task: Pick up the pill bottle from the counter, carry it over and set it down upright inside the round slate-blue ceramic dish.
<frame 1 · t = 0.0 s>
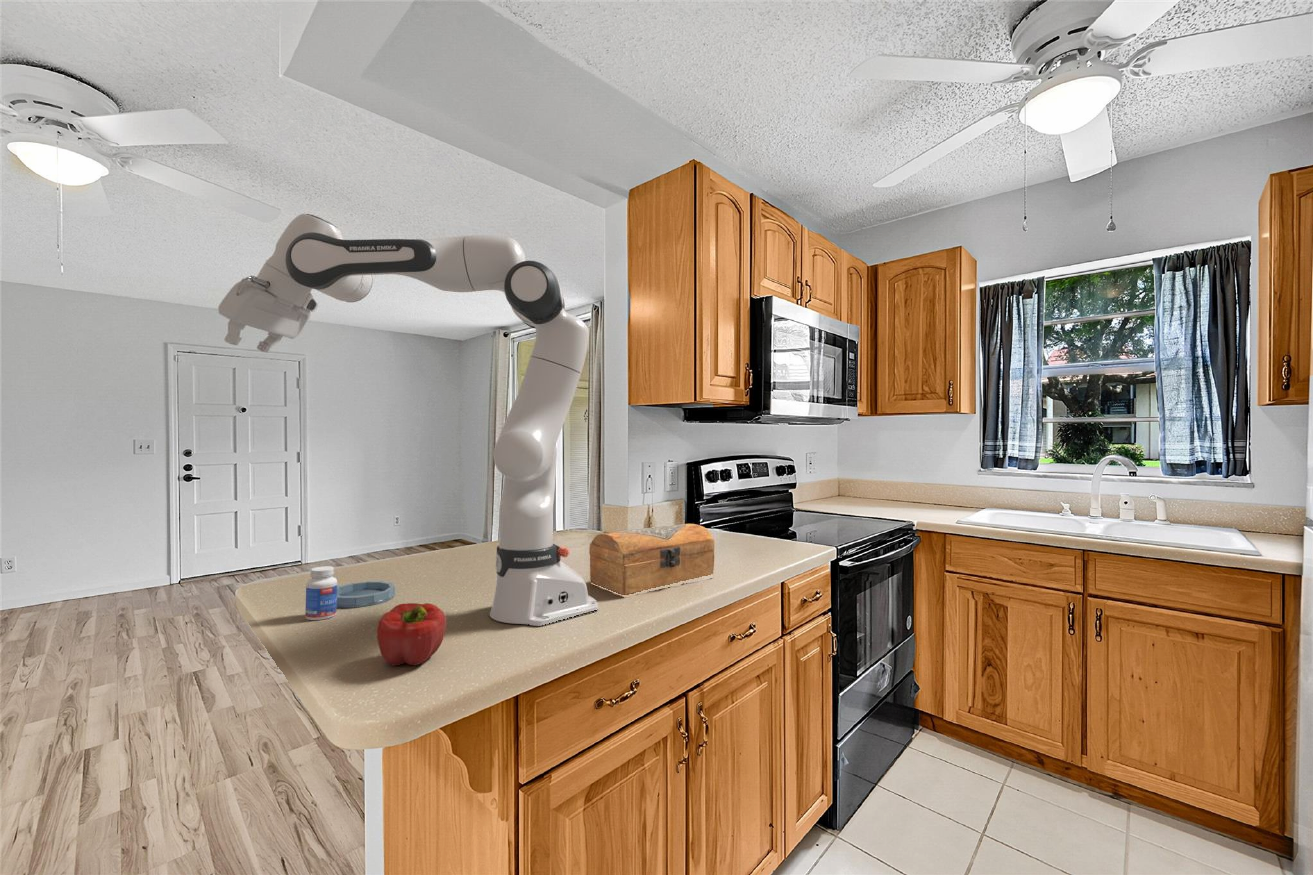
hand: (246, 347, 109), 54 cm above the countertop, tool tilted 30°, fingers open, 8 cm apart
wooden box: (654, 583, 140), on the countertop
vegetable: (412, 663, 89), on the countertop
pill bottle: (321, 617, 110), on the countertop
dish: (362, 598, 122), on the countertop
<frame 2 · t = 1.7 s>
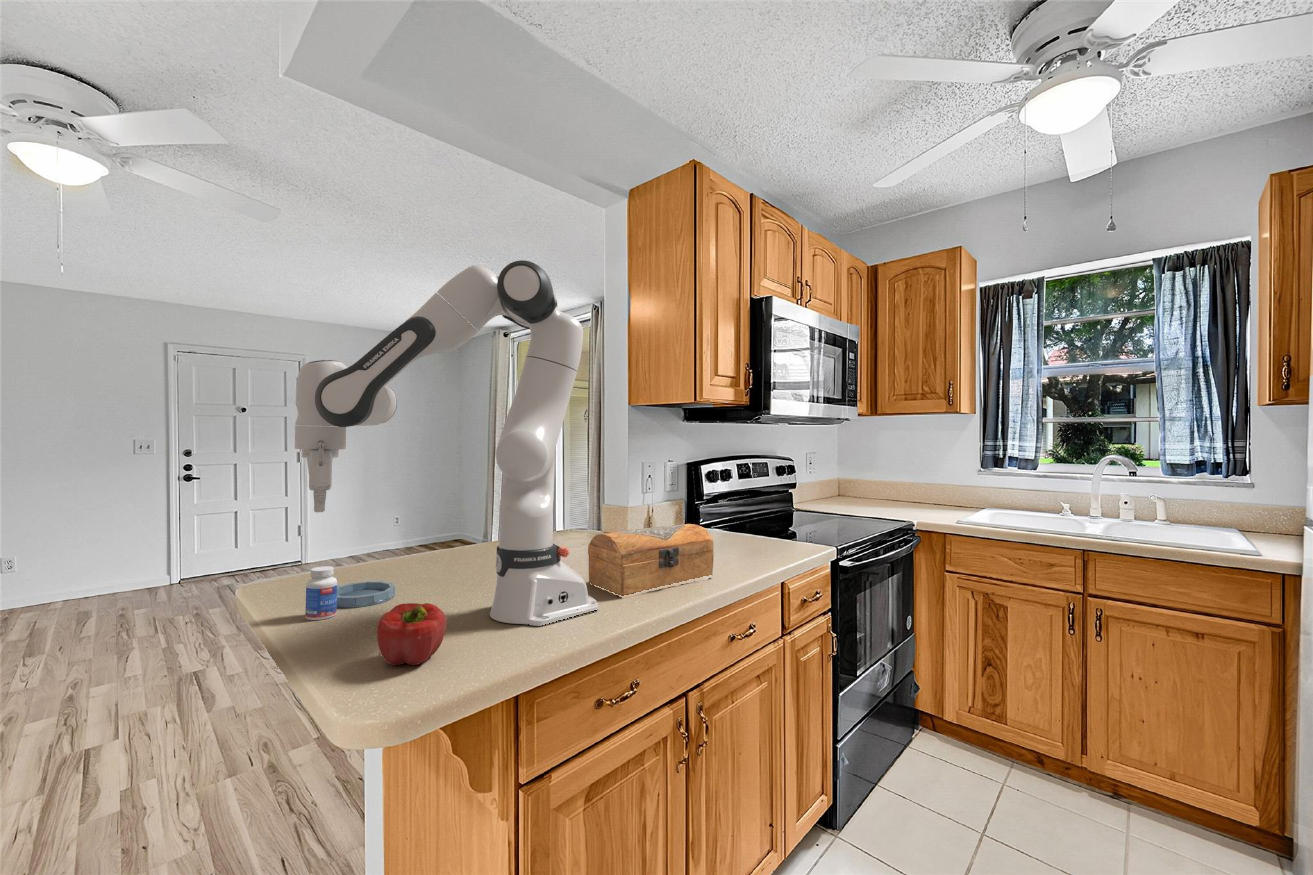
hand: (319, 508, 110), 22 cm above the countertop, tool pointing down, fingers open, 8 cm apart
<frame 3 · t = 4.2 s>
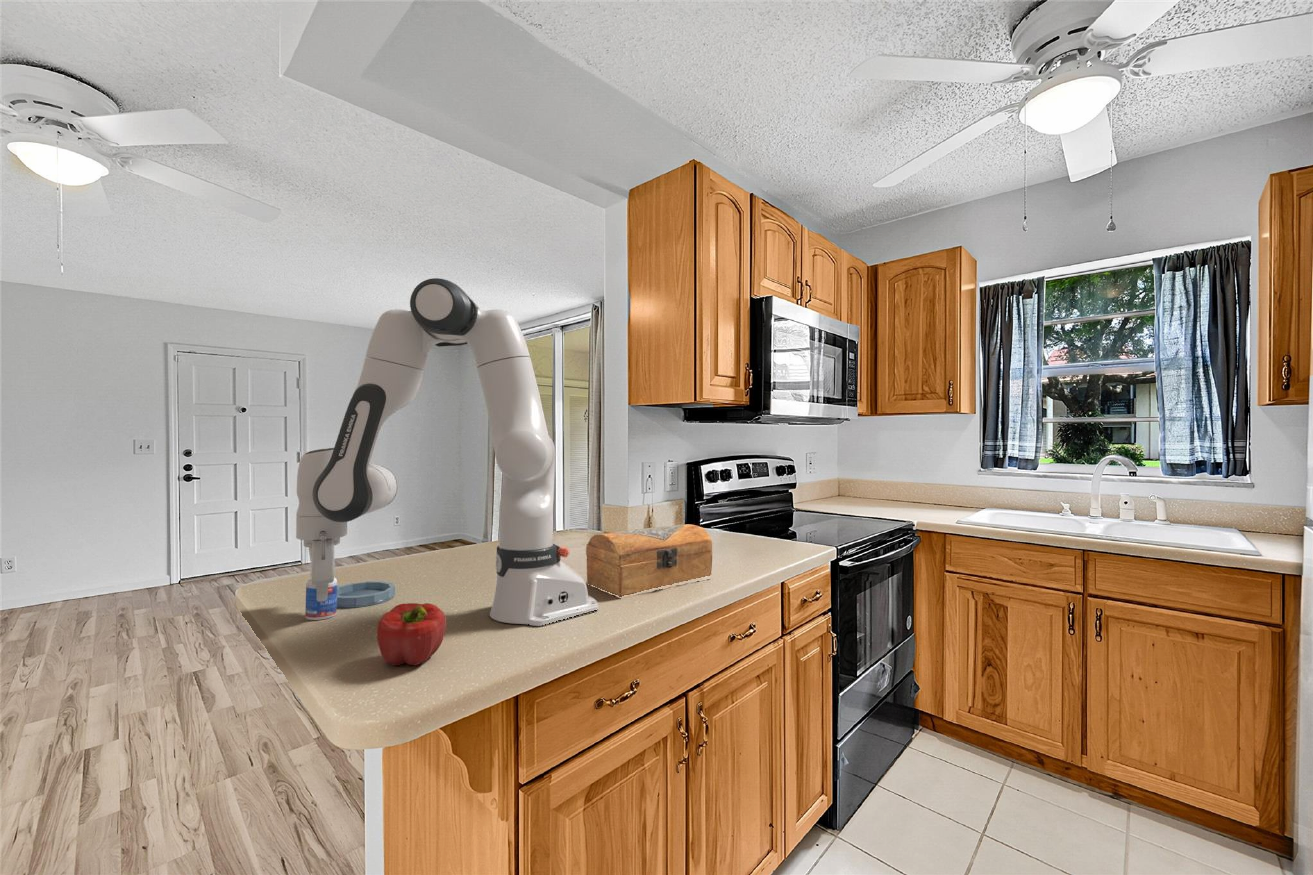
hand: (321, 595, 110), 4 cm above the countertop, tool pointing down, fingers closed on pill bottle, 5 cm apart
pill bottle: (321, 617, 110), on the countertop, touching gripper
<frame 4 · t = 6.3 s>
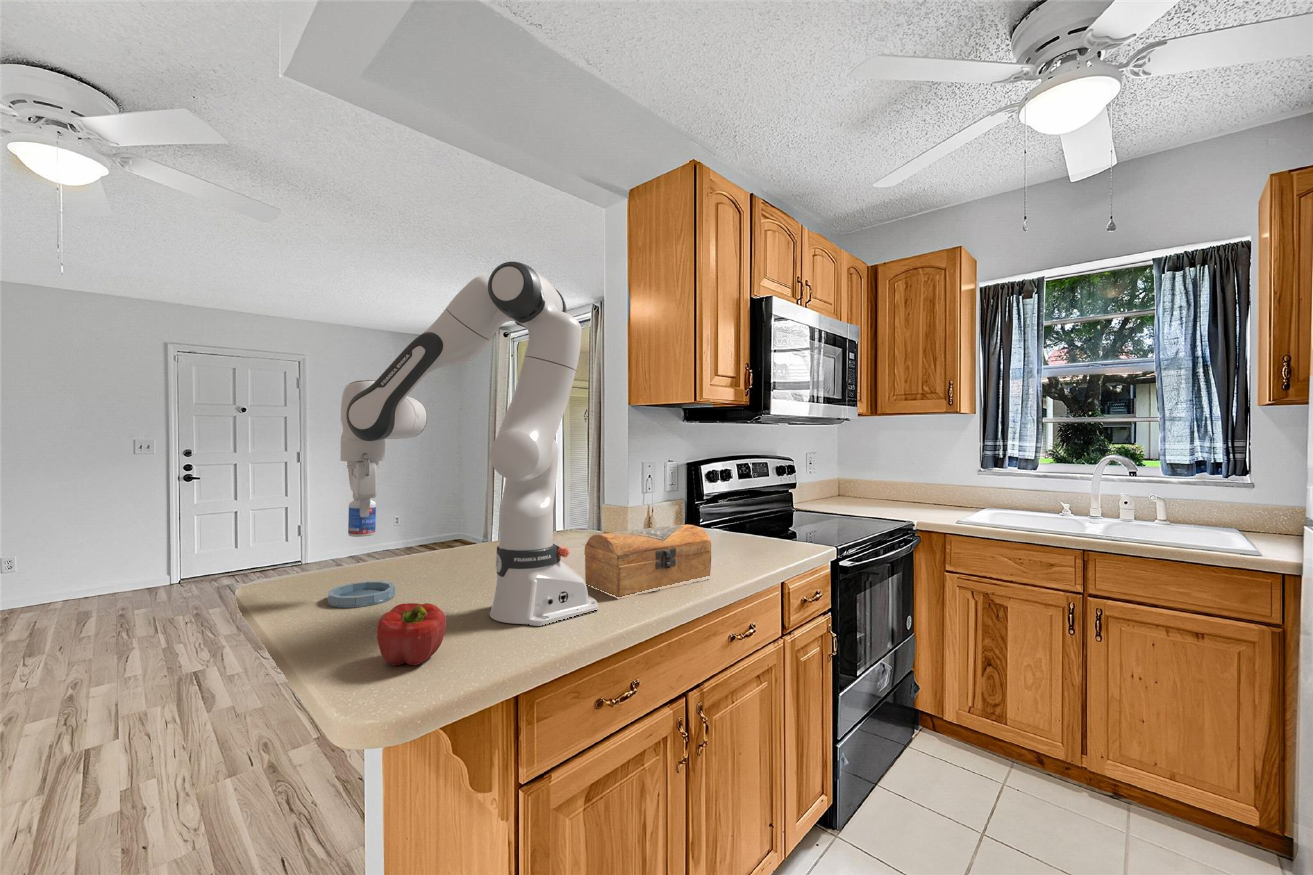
hand: (362, 514, 122), 19 cm above the countertop, tool pointing down, fingers closed on pill bottle, 5 cm apart
pill bottle: (362, 535, 122), point 14 cm above the countertop, touching gripper
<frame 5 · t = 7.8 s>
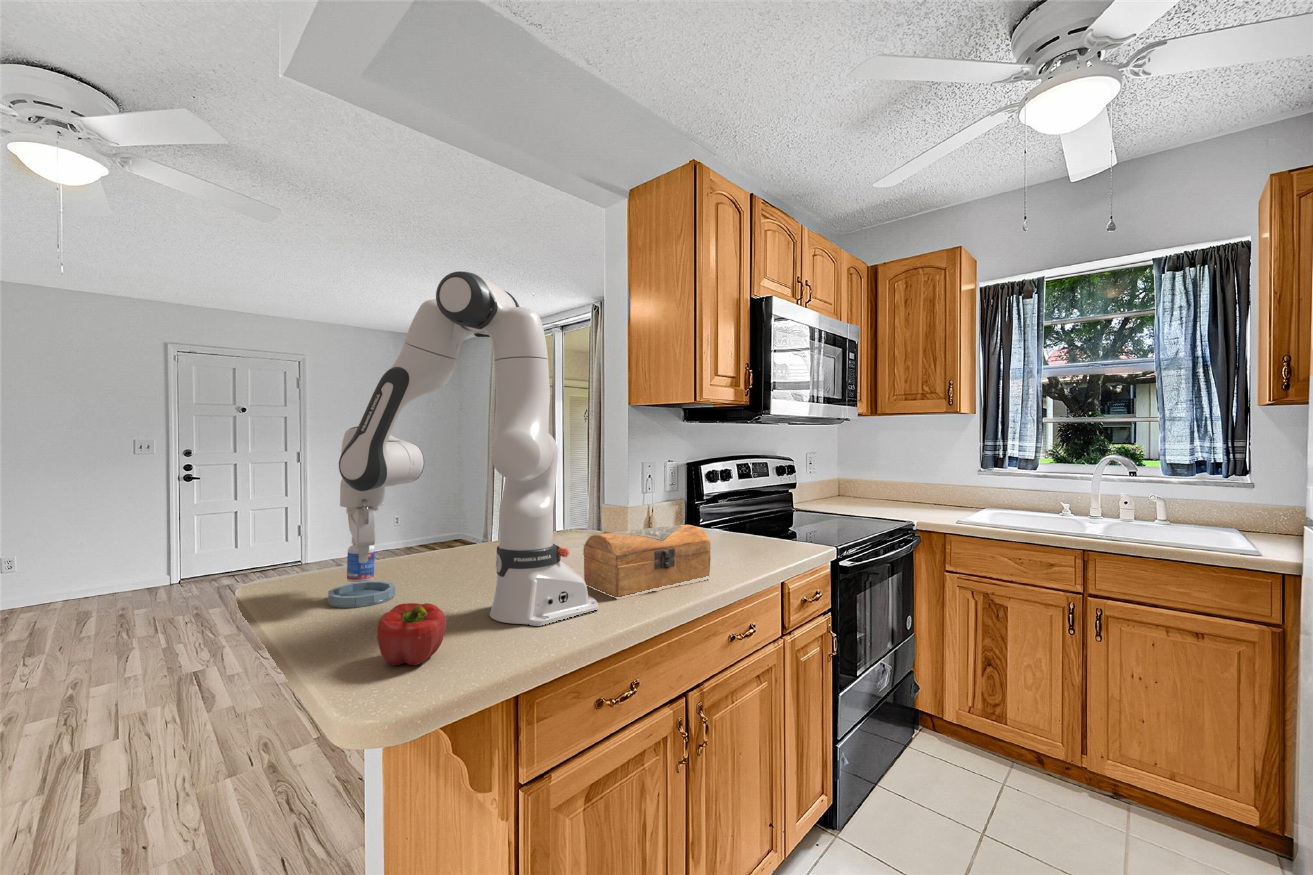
hand: (361, 559, 122), 9 cm above the countertop, tool pointing down, fingers closed on pill bottle, 5 cm apart
pill bottle: (360, 580, 122), point 4 cm above the countertop, touching gripper
when the fingers open (6 cm above the countertop, at t = 8.8 s): pill bottle stays where it is, resting on dish.
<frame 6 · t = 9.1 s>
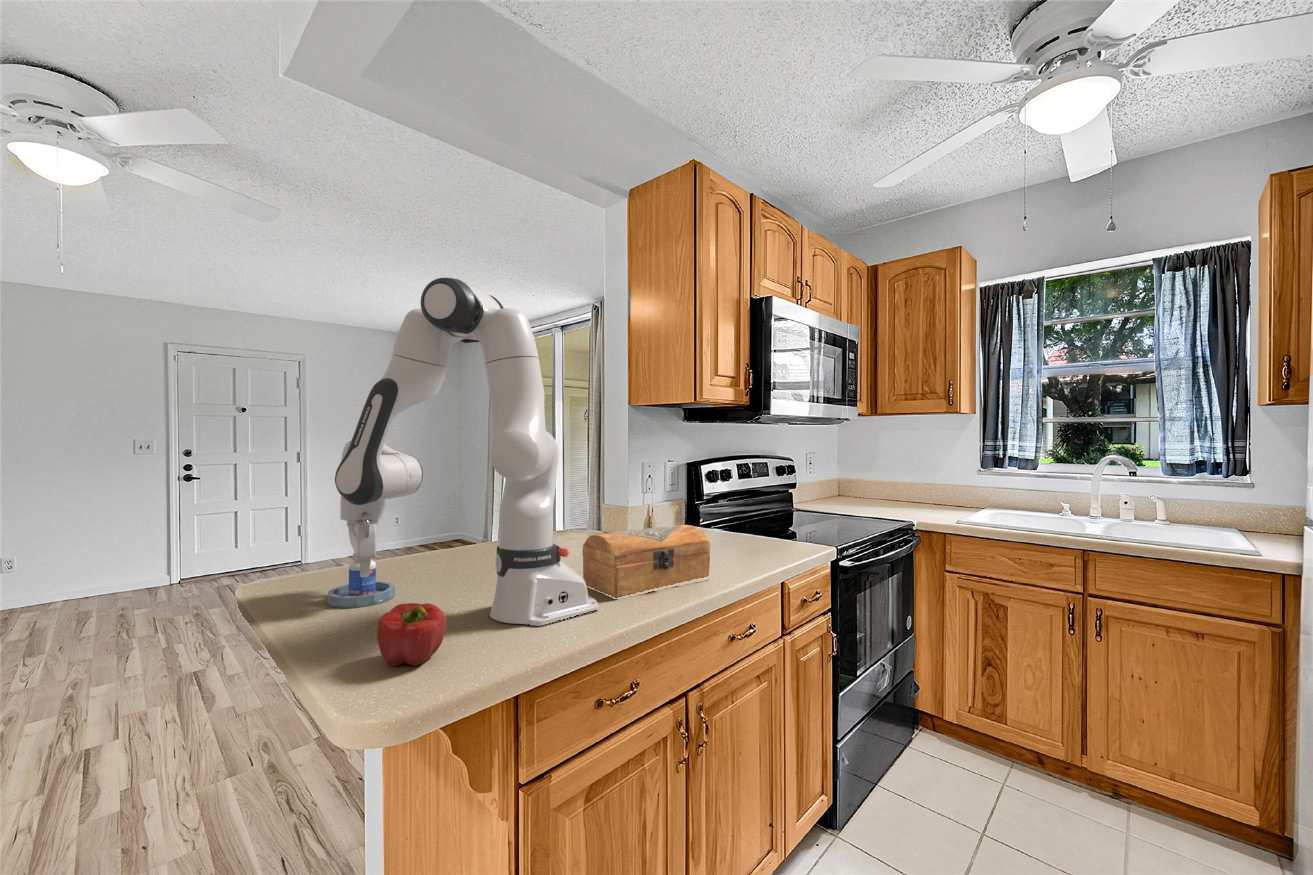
hand: (362, 571, 122), 6 cm above the countertop, tool pointing down, fingers open, 8 cm apart
pill bottle: (362, 597, 122), resting on dish
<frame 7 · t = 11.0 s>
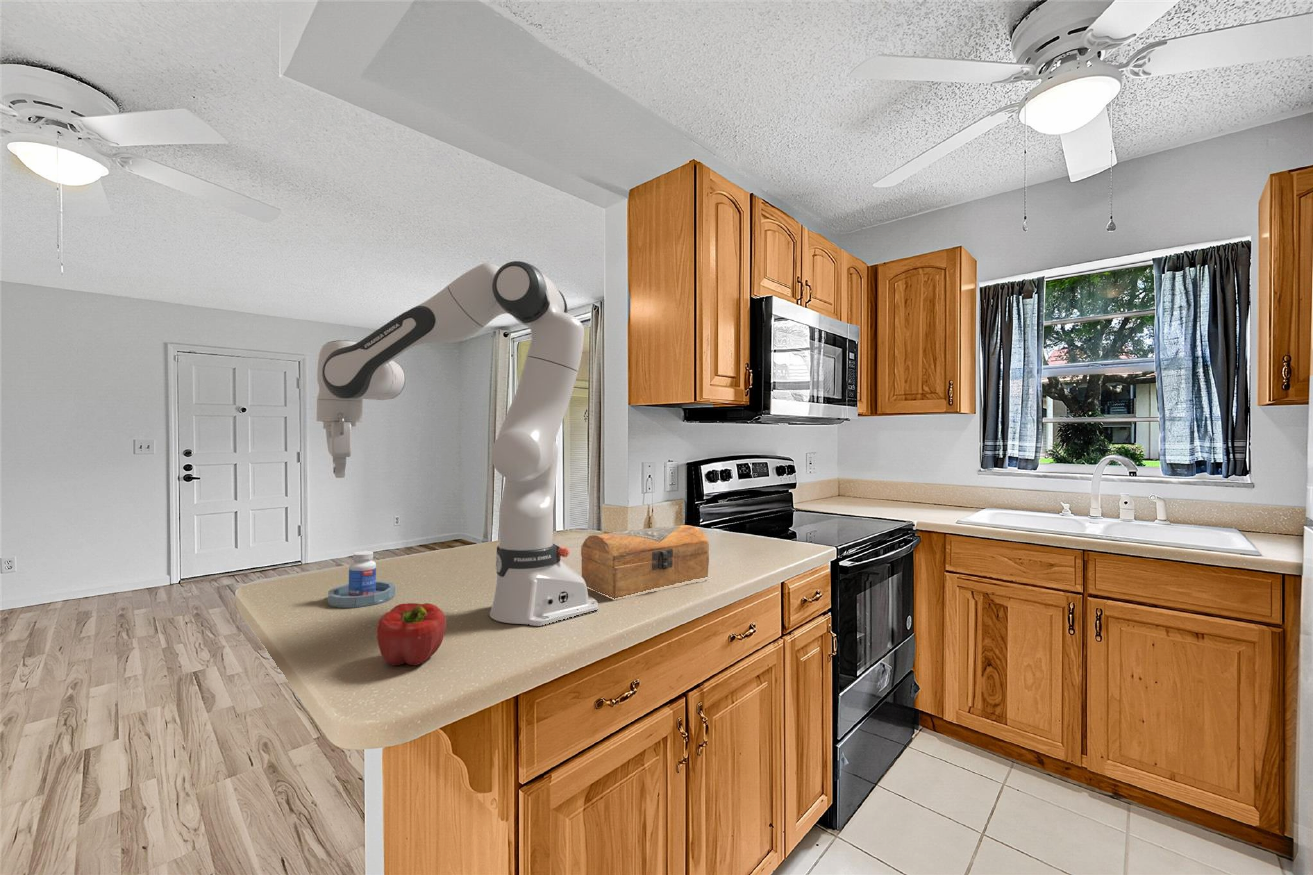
hand: (338, 476, 121), 28 cm above the countertop, tool pointing down, fingers open, 8 cm apart
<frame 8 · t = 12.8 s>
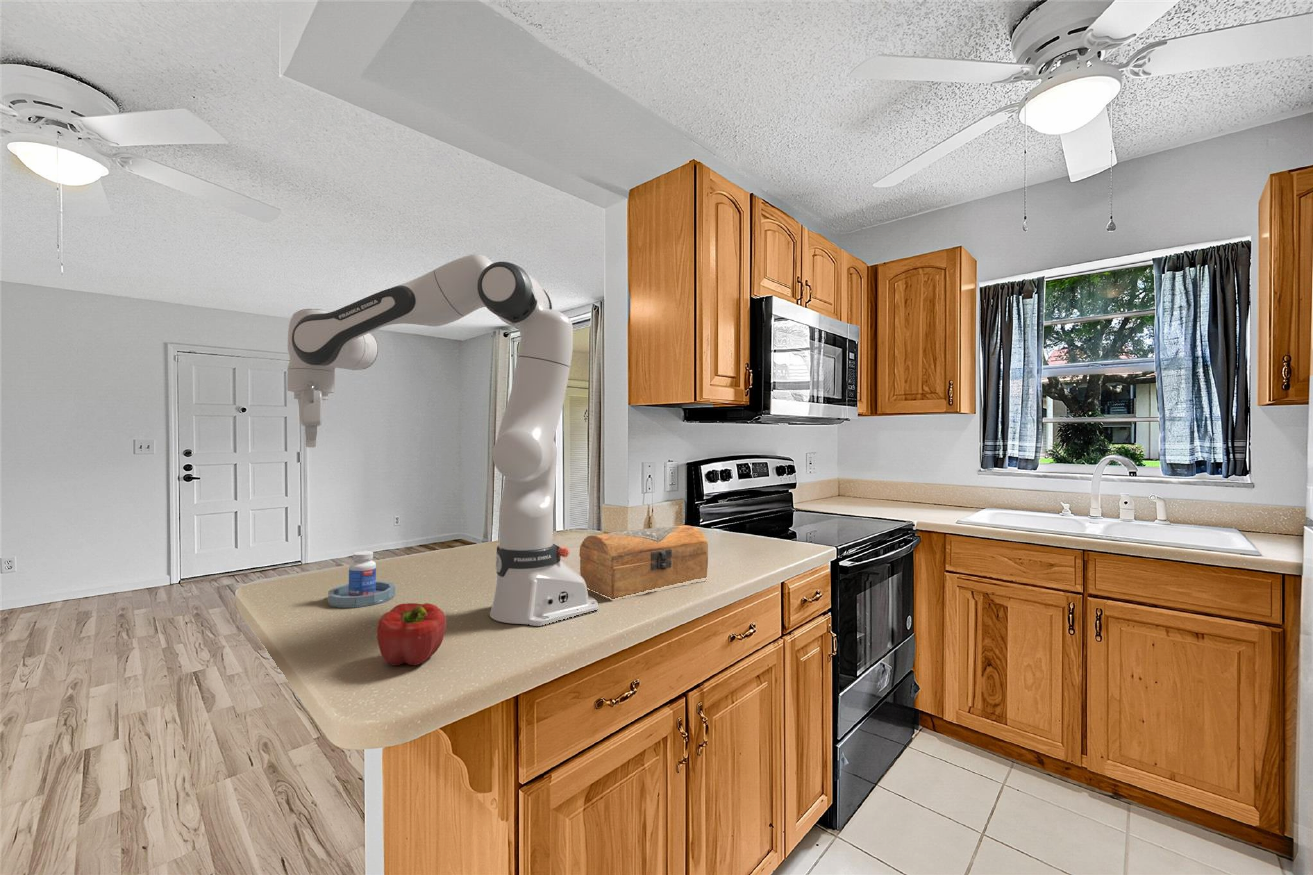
hand: (310, 446, 120), 34 cm above the countertop, tool pointing down, fingers open, 8 cm apart
at the end: pill bottle 0.1 cm from the dish (horizontally); pill bottle tilted 0°; the gripper is holding nothing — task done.
